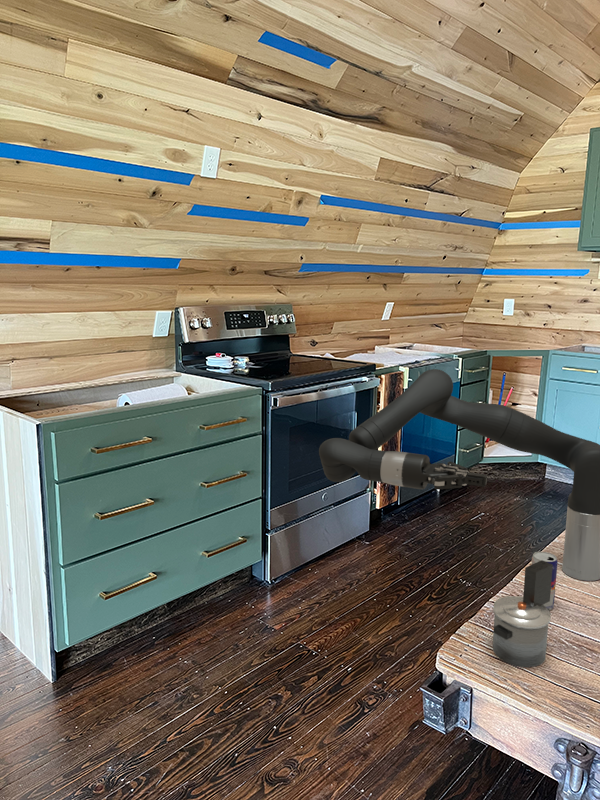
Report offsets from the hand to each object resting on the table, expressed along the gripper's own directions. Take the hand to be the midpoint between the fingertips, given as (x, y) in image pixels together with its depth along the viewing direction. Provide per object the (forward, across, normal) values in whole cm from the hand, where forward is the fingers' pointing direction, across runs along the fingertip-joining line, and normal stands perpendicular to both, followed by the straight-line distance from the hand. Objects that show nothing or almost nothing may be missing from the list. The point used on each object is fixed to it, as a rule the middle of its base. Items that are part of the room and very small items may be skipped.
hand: (486, 480), depth 125 cm
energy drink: (+12, +13, +32) cm, 36 cm away
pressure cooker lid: (+10, -7, +24) cm, 27 cm away
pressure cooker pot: (+9, -8, +32) cm, 34 cm away
